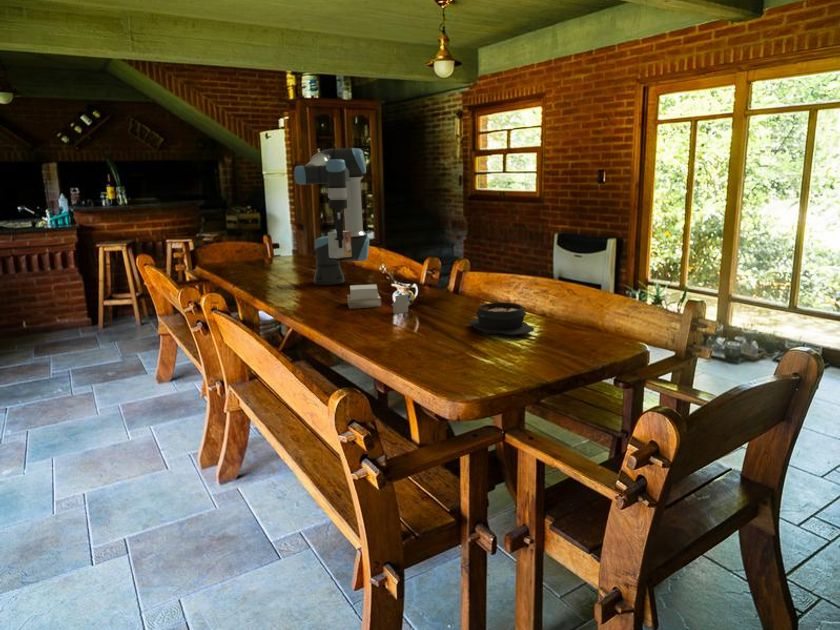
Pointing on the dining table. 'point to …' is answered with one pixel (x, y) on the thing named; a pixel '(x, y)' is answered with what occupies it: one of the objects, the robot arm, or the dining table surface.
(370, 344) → the dining table surface
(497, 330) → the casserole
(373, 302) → the tower base slab
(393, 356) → the dining table surface
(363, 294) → the tower top slab
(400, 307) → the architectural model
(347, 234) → the small box
